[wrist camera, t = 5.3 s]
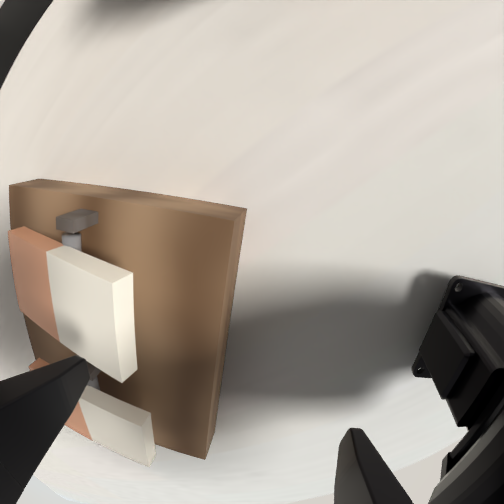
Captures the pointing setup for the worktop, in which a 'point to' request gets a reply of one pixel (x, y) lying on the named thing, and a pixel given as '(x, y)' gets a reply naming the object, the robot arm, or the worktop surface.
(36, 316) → the rocker
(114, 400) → the block
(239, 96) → the worktop surface
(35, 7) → the white and black block
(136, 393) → the switch unit
